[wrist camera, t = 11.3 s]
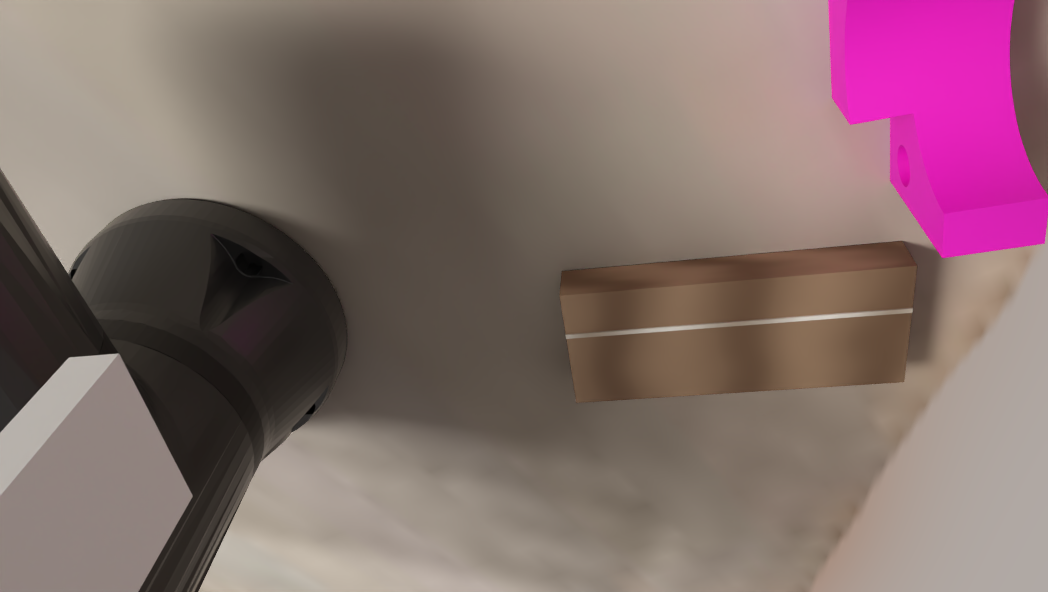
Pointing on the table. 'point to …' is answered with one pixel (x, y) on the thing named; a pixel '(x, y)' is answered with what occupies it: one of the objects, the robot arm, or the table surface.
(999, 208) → the toy block
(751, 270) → the brown flat bar
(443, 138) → the table surface
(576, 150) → the table surface
